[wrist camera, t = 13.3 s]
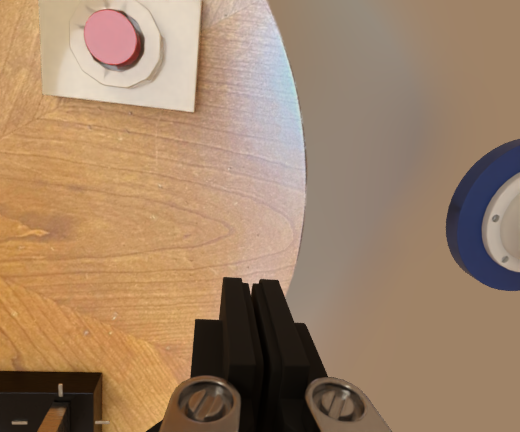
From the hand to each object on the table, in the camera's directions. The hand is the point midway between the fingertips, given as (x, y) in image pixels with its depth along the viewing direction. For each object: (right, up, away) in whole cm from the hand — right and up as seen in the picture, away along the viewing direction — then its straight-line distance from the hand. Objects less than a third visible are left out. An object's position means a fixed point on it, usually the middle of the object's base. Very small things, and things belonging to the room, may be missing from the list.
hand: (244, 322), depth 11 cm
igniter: (-11, +17, +20) cm, 28 cm away
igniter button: (-10, +16, +16) cm, 25 cm away
